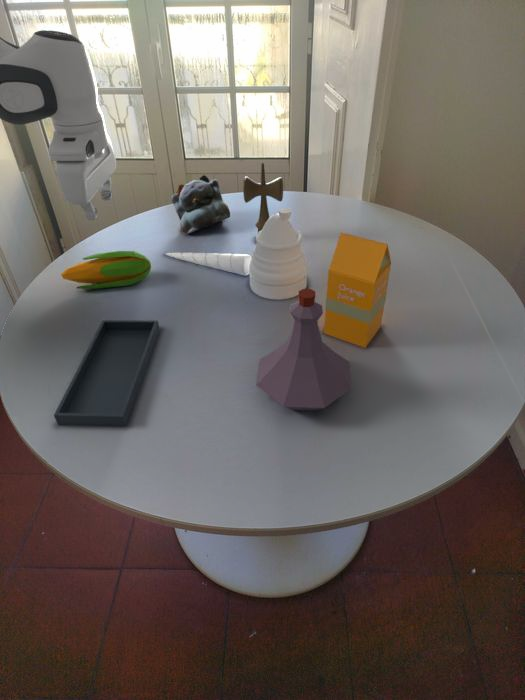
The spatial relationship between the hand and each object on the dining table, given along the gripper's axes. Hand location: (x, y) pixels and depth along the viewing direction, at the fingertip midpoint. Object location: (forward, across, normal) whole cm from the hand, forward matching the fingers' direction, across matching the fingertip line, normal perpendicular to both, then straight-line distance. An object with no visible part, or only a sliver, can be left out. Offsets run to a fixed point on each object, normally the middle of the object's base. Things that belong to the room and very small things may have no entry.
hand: (100, 208), depth 95 cm
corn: (+19, -1, -3) cm, 19 cm away
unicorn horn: (+19, -9, +19) cm, 28 cm away
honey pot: (+18, -1, +36) cm, 41 cm away
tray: (+19, +29, +8) cm, 35 cm away
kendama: (+18, -22, +32) cm, 43 cm away
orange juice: (+18, +16, +51) cm, 57 cm away
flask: (+18, +33, +42) cm, 56 cm away
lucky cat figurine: (+19, -31, +14) cm, 39 cm away
